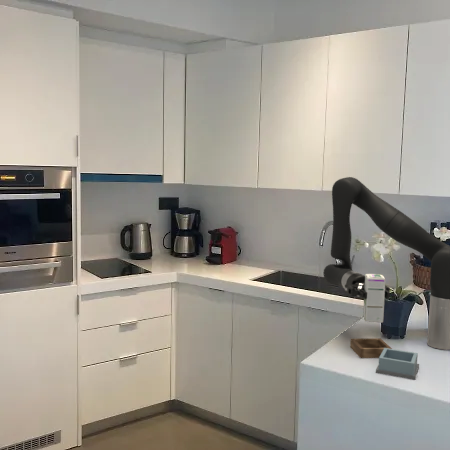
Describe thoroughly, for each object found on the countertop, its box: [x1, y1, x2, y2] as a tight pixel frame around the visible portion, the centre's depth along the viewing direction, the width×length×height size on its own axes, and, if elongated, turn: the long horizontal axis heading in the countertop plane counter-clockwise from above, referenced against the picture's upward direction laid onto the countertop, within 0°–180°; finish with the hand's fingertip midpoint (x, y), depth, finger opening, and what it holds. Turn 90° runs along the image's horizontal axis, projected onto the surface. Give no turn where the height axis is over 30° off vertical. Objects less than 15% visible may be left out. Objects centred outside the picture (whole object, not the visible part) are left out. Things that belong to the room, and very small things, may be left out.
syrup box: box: [362, 273, 386, 324], centre depth 176 cm, size 6×6×14 cm
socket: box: [375, 348, 420, 381], centre depth 164 cm, size 11×11×4 cm
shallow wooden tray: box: [349, 337, 393, 359], centre depth 179 cm, size 10×10×3 cm
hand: (377, 295), depth 174 cm, fingers closed on syrup box, 7 cm apart
